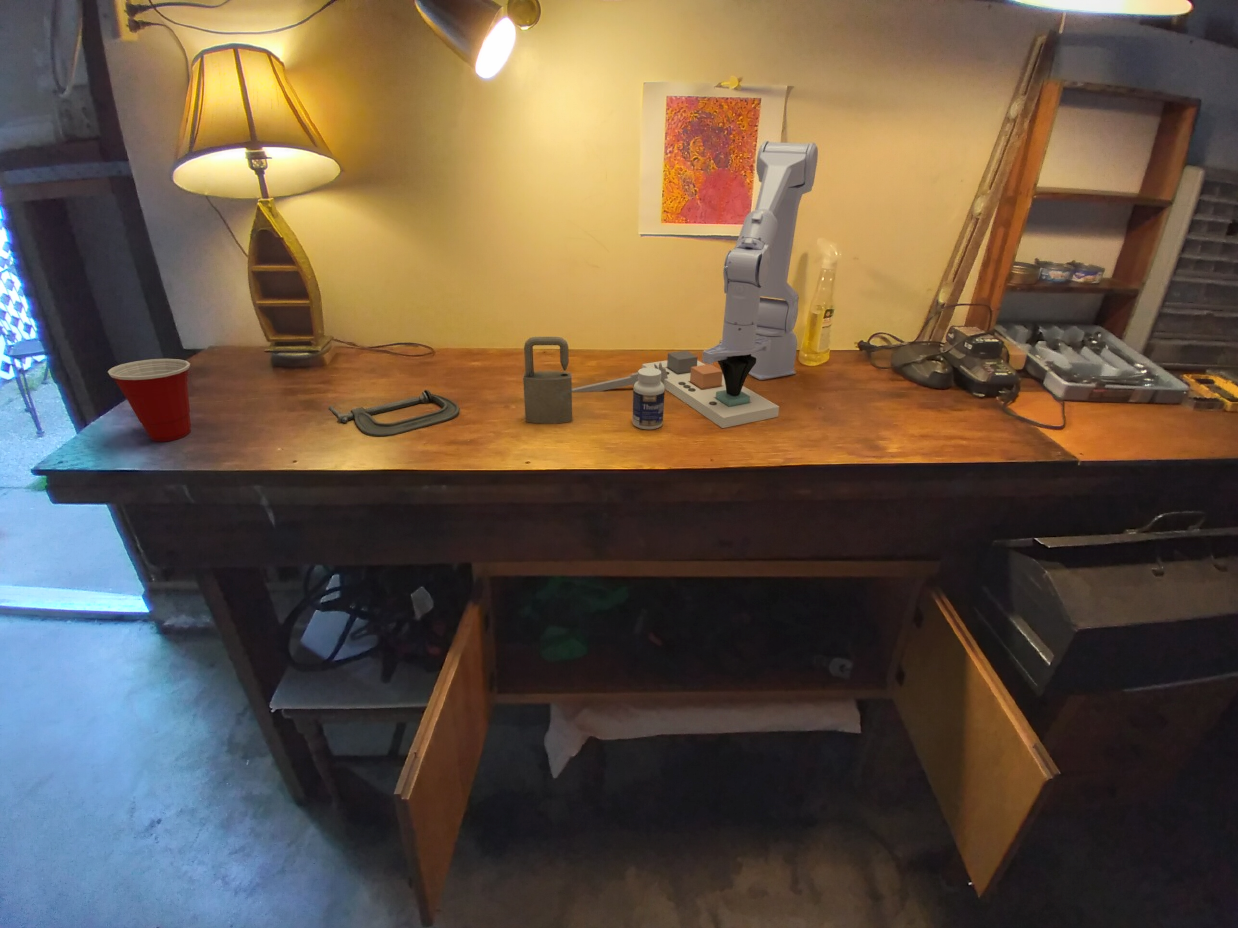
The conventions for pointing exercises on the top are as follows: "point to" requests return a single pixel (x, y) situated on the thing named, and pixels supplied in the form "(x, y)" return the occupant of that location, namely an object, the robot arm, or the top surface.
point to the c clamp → (389, 429)
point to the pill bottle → (648, 399)
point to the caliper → (618, 382)
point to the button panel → (710, 405)
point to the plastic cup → (157, 395)
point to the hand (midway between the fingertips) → (732, 394)
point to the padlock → (547, 386)
